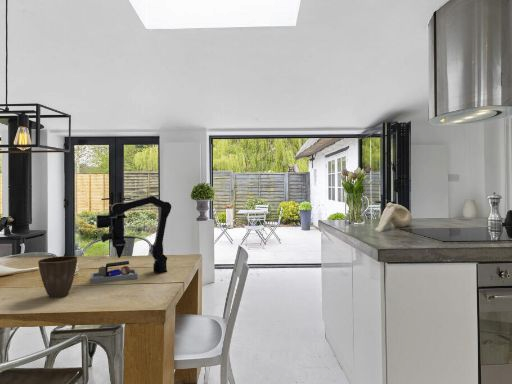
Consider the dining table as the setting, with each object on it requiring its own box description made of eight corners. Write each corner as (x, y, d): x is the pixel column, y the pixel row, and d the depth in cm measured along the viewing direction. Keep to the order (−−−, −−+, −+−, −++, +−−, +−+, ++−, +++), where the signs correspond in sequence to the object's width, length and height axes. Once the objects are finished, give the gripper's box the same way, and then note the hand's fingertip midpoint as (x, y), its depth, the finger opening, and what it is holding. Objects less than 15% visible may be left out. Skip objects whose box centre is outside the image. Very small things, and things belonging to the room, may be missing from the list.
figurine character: (99, 282, 170) (131, 275, 175) (97, 267, 169) (129, 261, 175) (100, 279, 176) (130, 273, 182) (98, 265, 176) (128, 259, 181)
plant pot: (41, 293, 151) (41, 257, 151) (79, 288, 157) (78, 254, 157) (35, 303, 137) (34, 263, 137) (76, 297, 143) (76, 260, 143)
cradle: (135, 273, 186) (135, 268, 186) (137, 278, 174) (137, 273, 174) (91, 277, 177) (91, 273, 177) (90, 283, 165) (90, 279, 165)
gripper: (101, 226, 183) (101, 254, 183) (101, 229, 166) (102, 261, 166) (123, 225, 188) (123, 252, 188) (125, 228, 171) (126, 258, 171)
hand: (118, 256), depth 178 cm, fingers open, 9 cm apart
